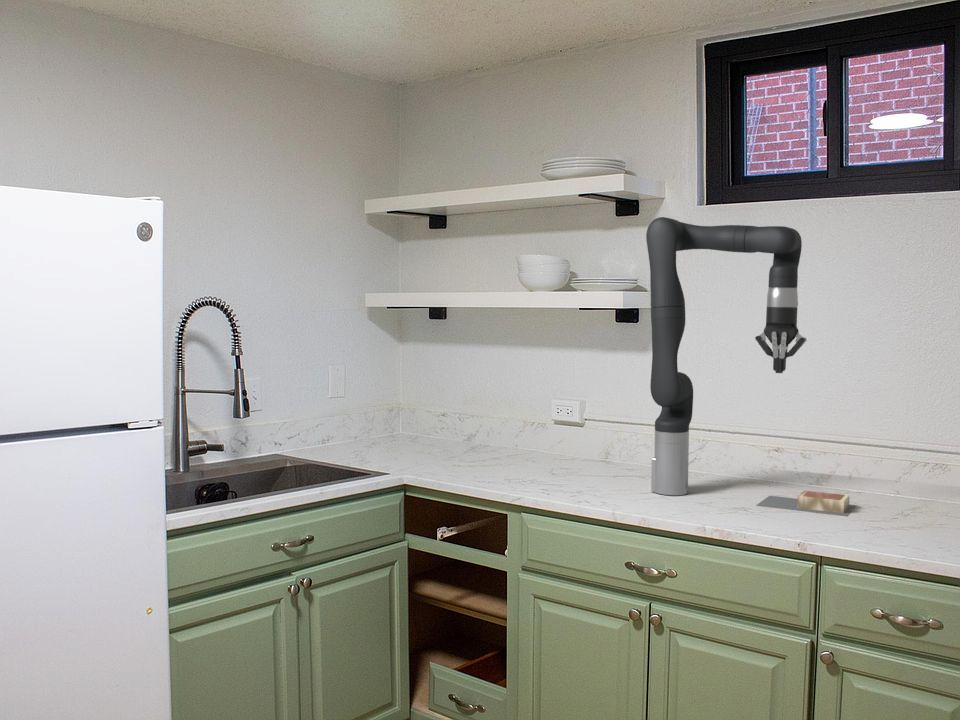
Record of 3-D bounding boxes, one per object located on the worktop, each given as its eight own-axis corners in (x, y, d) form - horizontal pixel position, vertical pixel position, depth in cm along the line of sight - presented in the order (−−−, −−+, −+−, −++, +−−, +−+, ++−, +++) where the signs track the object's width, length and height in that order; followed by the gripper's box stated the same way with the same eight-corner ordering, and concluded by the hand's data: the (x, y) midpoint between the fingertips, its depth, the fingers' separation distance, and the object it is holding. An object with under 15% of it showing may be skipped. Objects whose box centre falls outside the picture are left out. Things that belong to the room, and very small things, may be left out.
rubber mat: (755, 507, 232) (755, 505, 232) (769, 497, 244) (769, 495, 244) (847, 518, 221) (847, 516, 220) (856, 507, 232) (856, 505, 232)
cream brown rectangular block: (797, 495, 229) (843, 500, 224) (804, 490, 236) (849, 495, 230) (797, 507, 229) (843, 513, 224) (804, 501, 236) (849, 506, 231)
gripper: (752, 305, 233) (749, 372, 234) (805, 306, 226) (802, 375, 227) (759, 304, 239) (757, 370, 240) (811, 306, 232) (809, 373, 234)
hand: (779, 372), depth 234 cm, fingers closed
